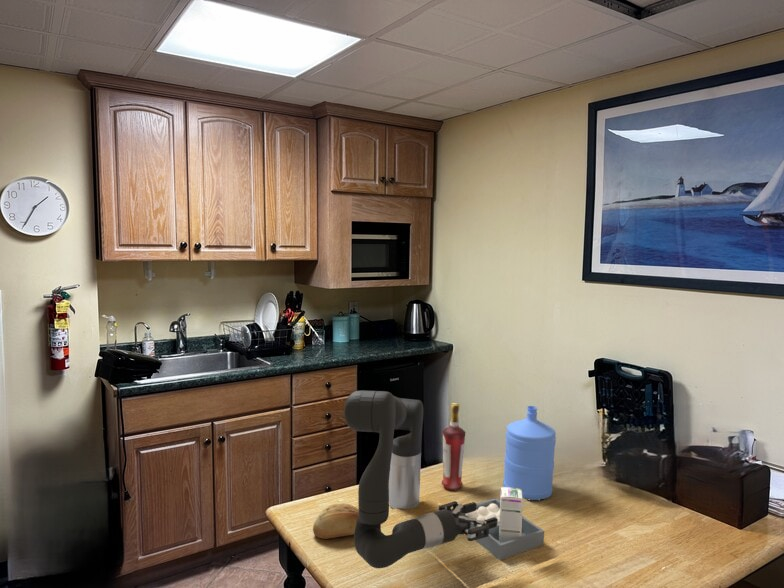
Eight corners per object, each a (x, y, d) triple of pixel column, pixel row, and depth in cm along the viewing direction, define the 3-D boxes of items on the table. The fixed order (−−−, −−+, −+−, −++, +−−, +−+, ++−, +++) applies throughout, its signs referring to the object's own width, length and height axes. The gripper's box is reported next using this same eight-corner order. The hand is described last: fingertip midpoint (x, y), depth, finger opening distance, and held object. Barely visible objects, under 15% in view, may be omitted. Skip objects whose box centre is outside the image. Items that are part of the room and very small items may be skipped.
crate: (453, 526, 158) (454, 509, 158) (494, 513, 166) (495, 498, 165) (499, 563, 141) (500, 545, 140) (543, 548, 148) (544, 530, 148)
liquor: (438, 481, 185) (441, 401, 182) (460, 481, 186) (463, 400, 183) (443, 492, 178) (446, 408, 175) (465, 491, 179) (469, 408, 175)
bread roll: (371, 539, 151) (371, 511, 150) (316, 548, 146) (316, 519, 145) (361, 521, 160) (362, 494, 159) (310, 528, 155) (310, 502, 154)
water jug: (558, 502, 173) (563, 416, 170) (508, 501, 173) (512, 415, 170) (545, 480, 189) (550, 400, 185) (499, 478, 189) (503, 399, 185)
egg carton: (461, 523, 158) (462, 508, 157) (493, 514, 163) (494, 499, 163) (479, 537, 151) (480, 521, 150) (511, 527, 156) (512, 512, 156)
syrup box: (521, 550, 145) (524, 498, 143) (498, 547, 146) (500, 496, 144) (519, 538, 151) (522, 488, 149) (497, 536, 152) (500, 486, 150)
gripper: (451, 528, 129) (504, 512, 137) (418, 501, 141) (469, 488, 149) (450, 558, 130) (503, 541, 138) (417, 529, 142) (468, 514, 150)
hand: (485, 513), depth 143 cm, fingers open, 8 cm apart
